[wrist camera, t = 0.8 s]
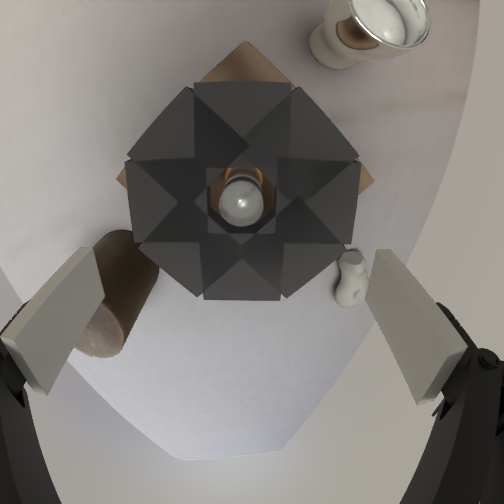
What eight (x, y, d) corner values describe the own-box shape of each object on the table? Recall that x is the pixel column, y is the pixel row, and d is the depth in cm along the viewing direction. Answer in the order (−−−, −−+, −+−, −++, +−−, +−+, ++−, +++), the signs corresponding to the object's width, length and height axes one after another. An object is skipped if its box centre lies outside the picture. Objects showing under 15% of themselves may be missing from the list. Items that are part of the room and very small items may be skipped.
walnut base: (246, 44, 26) (245, 40, 24) (368, 176, 33) (374, 180, 31) (122, 175, 32) (115, 178, 31) (244, 282, 39) (243, 291, 38)
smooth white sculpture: (355, 291, 42) (326, 299, 41) (364, 243, 38) (333, 249, 37) (371, 308, 38) (342, 318, 37) (383, 258, 34) (352, 265, 33)
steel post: (244, 149, 30) (241, 169, 20) (269, 174, 31) (278, 206, 21) (219, 174, 31) (203, 205, 21) (244, 198, 32) (241, 239, 22)
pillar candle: (158, 232, 36) (110, 302, 23) (161, 295, 40) (128, 375, 27) (92, 226, 36) (29, 285, 22) (101, 287, 40) (54, 356, 27)
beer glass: (364, 76, 27) (437, 62, 14) (305, 70, 27) (348, 42, 14) (362, 24, 24) (427, -16, 11) (303, 16, 24) (339, -41, 11)
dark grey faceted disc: (243, 40, 18) (243, 33, 16) (387, 200, 24) (396, 207, 22) (100, 198, 24) (90, 205, 22) (242, 318, 29) (242, 331, 28)
